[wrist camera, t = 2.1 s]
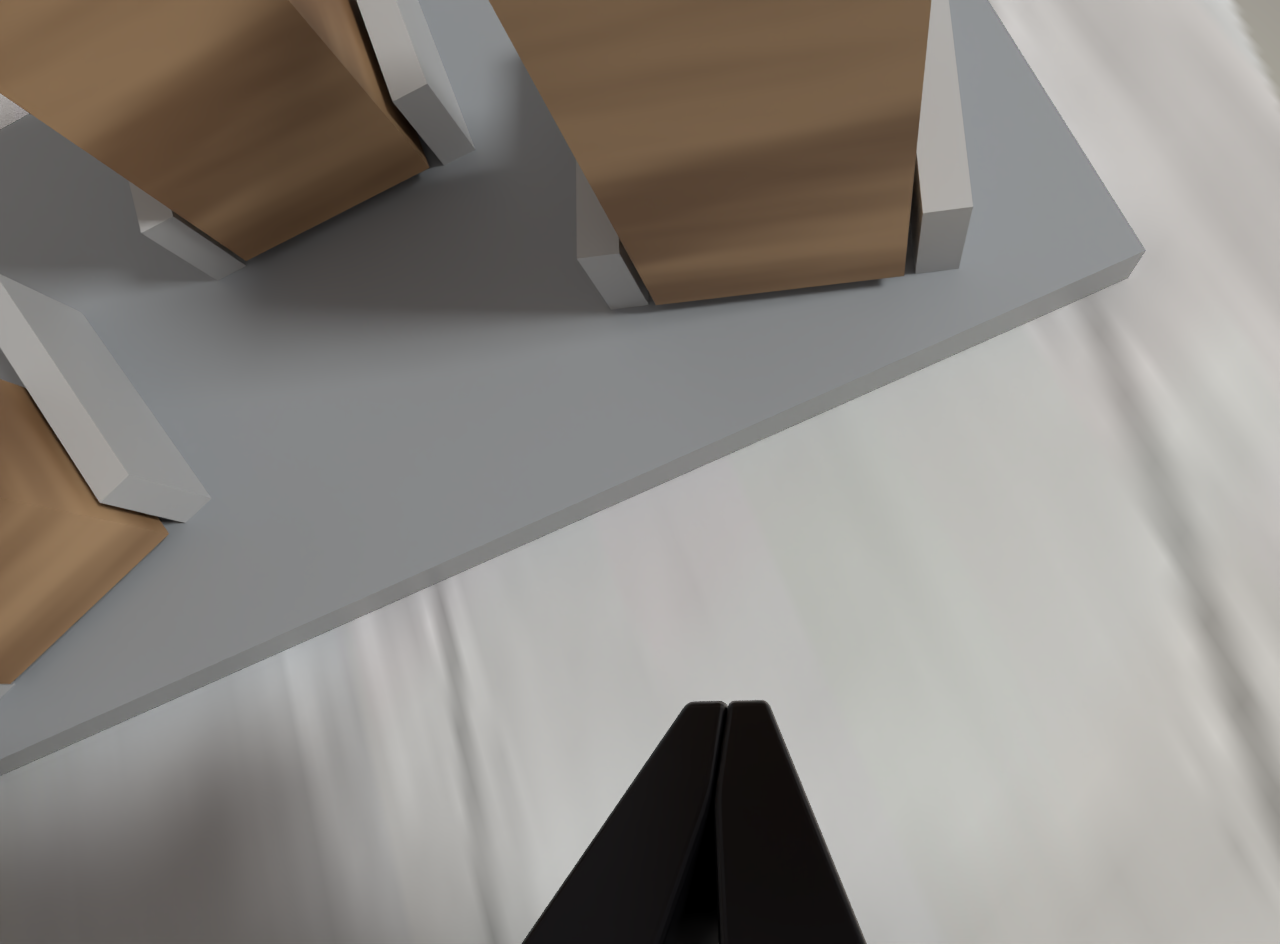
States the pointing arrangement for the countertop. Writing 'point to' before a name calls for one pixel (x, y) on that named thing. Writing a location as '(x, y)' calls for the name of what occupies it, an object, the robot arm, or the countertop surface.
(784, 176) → the plunger
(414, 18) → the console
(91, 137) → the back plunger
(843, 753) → the countertop surface
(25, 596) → the plunger
